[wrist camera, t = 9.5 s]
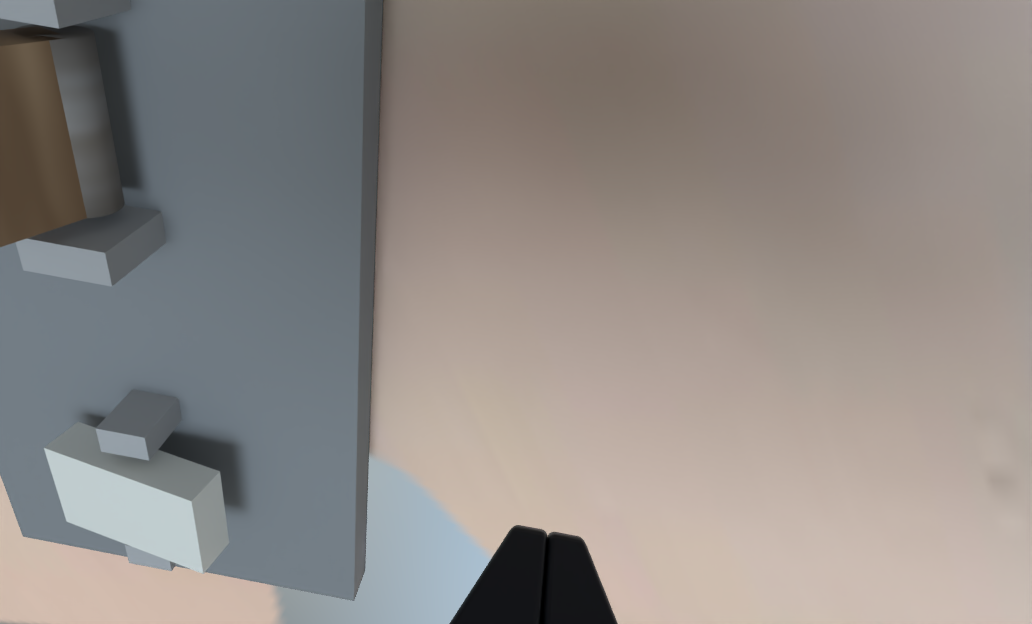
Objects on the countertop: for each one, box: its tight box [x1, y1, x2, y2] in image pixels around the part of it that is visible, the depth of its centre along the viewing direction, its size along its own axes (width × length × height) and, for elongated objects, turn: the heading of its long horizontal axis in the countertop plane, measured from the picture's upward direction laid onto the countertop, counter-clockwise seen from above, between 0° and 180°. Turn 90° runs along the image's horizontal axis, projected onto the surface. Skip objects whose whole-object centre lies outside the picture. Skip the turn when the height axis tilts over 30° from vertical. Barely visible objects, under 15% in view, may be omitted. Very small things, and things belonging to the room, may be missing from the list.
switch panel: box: [0, 0, 383, 601], centre depth 18 cm, size 14×38×4 cm, turn 172°
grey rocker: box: [44, 422, 229, 574], centre depth 24 cm, size 6×4×1 cm, turn 82°
